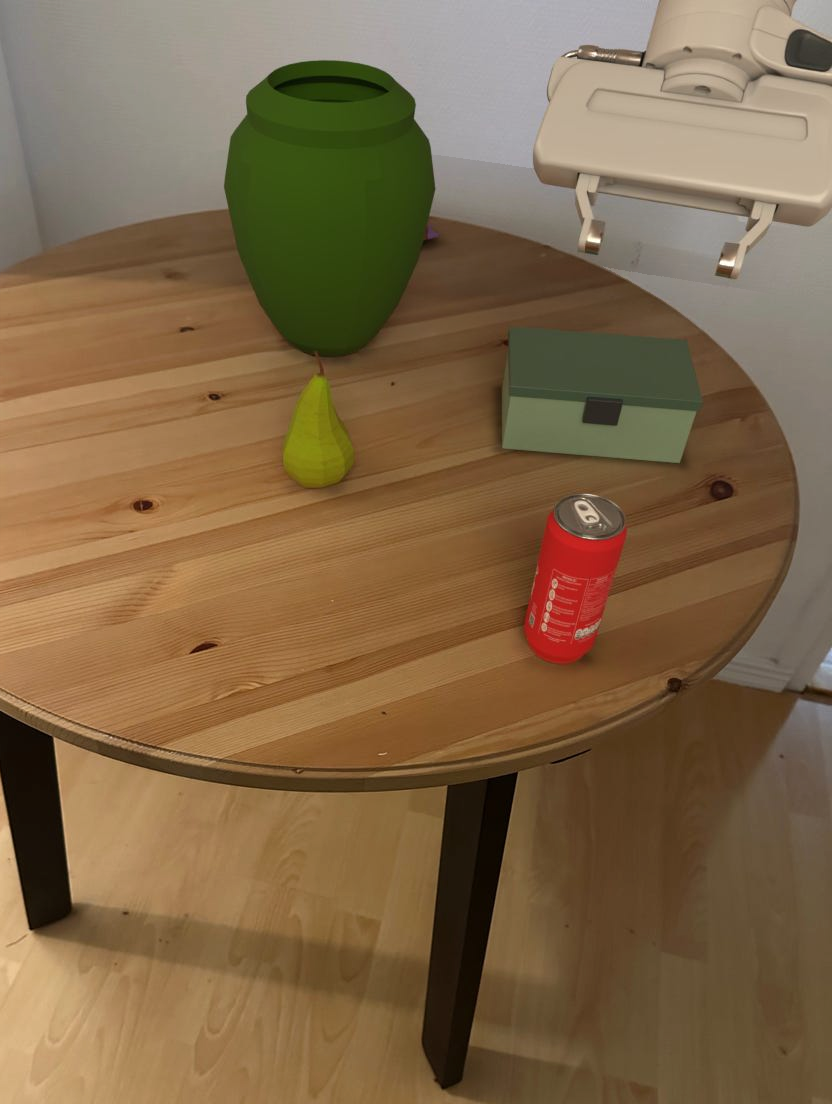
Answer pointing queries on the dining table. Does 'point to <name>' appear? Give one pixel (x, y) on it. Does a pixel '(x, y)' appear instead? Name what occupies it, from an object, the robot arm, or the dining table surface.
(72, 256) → the dining table surface
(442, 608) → the dining table surface
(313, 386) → the fruit
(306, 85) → the vase
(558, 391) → the box
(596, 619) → the beverage can
